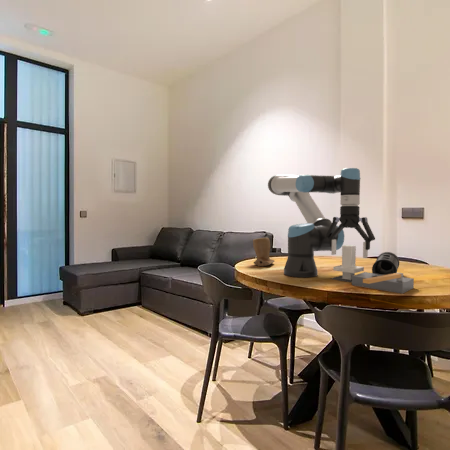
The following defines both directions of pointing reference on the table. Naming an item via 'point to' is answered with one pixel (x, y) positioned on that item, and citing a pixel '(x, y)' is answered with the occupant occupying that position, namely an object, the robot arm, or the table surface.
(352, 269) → the plug
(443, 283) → the table surface
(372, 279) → the tan wooden bar
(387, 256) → the muzzle brake
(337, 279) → the mat
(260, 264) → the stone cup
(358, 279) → the socket block
